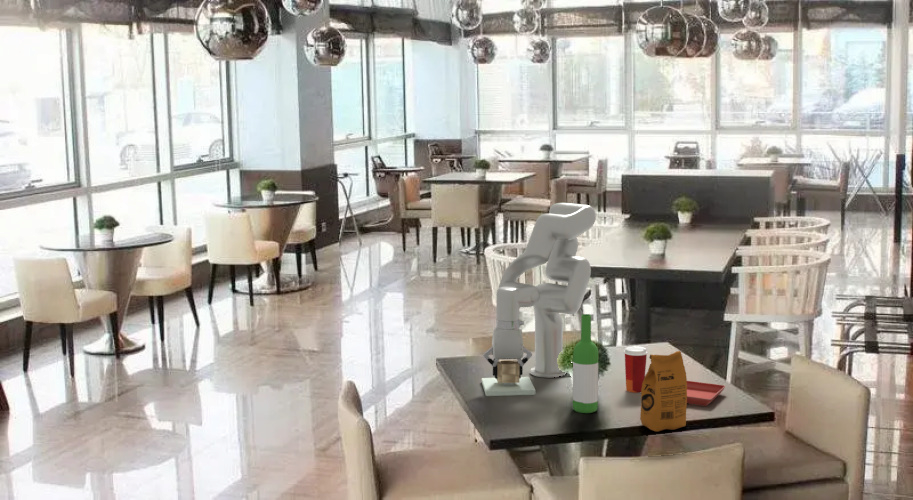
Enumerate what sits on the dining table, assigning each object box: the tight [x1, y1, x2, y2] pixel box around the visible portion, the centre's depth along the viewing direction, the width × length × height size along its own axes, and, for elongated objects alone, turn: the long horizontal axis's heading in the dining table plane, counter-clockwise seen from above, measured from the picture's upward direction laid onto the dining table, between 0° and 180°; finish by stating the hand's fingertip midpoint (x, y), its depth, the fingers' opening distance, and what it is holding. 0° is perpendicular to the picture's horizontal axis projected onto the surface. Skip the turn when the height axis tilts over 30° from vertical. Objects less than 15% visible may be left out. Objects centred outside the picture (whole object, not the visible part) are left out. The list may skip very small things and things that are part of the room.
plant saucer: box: [687, 380, 726, 407], centre depth 358 cm, size 18×18×3 cm
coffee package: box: [639, 350, 688, 432], centre depth 328 cm, size 10×12×22 cm
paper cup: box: [623, 345, 648, 394], centre depth 365 cm, size 8×8×14 cm
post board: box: [481, 376, 536, 397], centre depth 369 cm, size 16×16×6 cm
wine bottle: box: [572, 313, 599, 414], centre depth 343 cm, size 8×8×30 cm
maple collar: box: [497, 359, 520, 383], centre depth 368 cm, size 7×7×6 cm
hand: (507, 377), depth 369 cm, fingers closed on maple collar, 7 cm apart
